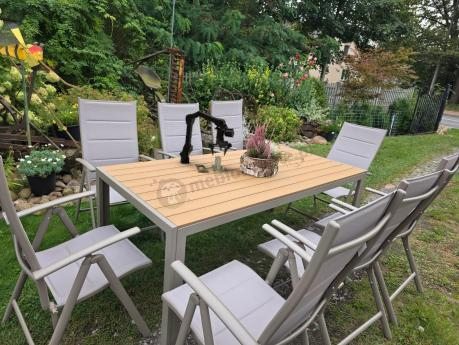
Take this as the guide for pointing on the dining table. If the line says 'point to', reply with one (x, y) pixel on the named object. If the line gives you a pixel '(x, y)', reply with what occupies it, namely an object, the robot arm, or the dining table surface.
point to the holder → (215, 167)
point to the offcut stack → (203, 171)
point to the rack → (200, 166)
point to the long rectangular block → (218, 162)
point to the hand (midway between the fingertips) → (218, 155)
